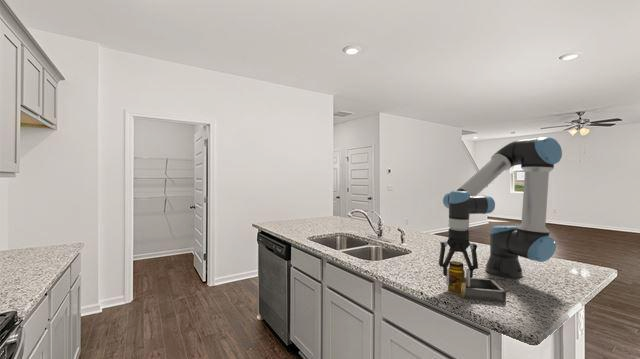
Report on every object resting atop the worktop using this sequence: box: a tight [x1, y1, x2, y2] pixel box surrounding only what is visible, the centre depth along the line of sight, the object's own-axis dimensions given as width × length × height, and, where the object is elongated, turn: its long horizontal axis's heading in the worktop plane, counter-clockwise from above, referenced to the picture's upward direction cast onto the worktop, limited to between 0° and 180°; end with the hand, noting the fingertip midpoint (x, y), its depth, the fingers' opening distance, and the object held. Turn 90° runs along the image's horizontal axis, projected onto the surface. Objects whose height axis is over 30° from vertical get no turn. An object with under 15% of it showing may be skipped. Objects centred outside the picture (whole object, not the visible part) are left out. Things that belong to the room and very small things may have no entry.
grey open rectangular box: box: [460, 276, 507, 303], centre depth 116 cm, size 16×14×6 cm
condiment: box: [445, 260, 466, 296], centre depth 118 cm, size 7×8×12 cm
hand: (457, 284), depth 117 cm, fingers open, 7 cm apart
